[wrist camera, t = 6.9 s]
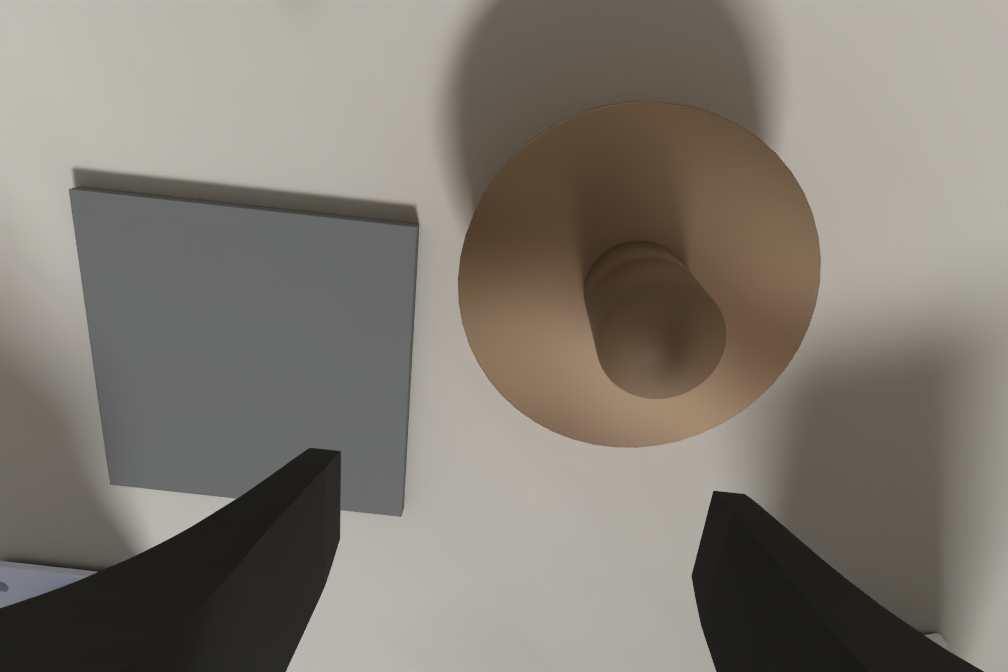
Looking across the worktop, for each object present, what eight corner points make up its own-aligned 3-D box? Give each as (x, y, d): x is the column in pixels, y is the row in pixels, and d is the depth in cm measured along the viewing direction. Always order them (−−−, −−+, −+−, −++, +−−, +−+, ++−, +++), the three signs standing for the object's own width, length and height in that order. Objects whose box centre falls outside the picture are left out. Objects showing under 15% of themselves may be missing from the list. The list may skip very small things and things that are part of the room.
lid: (742, 460, 20) (796, 556, 16) (436, 401, 20) (411, 483, 16) (864, 143, 17) (972, 162, 13) (495, 65, 16) (483, 59, 12)
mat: (403, 508, 25) (401, 516, 24) (118, 476, 25) (110, 484, 24) (419, 224, 21) (416, 227, 20) (79, 186, 21) (68, 188, 20)
